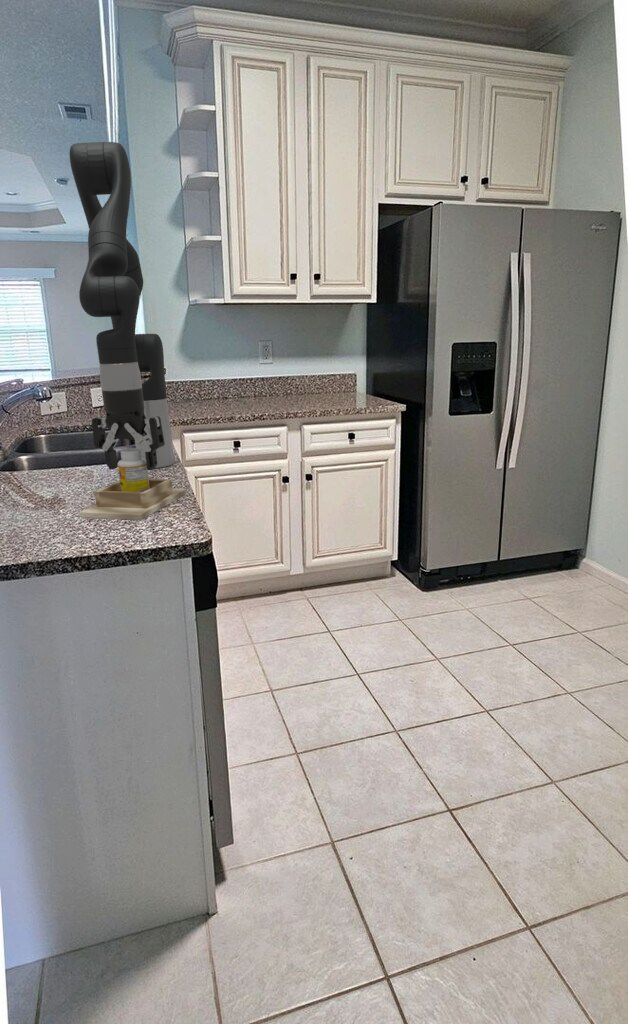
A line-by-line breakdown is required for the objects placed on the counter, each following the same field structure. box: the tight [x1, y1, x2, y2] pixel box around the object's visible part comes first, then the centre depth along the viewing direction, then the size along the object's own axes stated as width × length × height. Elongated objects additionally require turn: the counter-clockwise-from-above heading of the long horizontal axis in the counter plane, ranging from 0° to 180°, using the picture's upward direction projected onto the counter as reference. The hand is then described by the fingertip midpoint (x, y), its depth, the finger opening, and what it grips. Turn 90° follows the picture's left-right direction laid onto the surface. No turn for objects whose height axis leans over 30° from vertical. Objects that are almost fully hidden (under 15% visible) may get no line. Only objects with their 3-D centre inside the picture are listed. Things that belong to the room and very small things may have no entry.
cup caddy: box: [79, 478, 187, 521], centre depth 124 cm, size 19×13×4 cm
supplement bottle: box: [117, 447, 150, 492], centre depth 123 cm, size 6×6×10 cm
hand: (132, 469), depth 123 cm, fingers open, 8 cm apart
